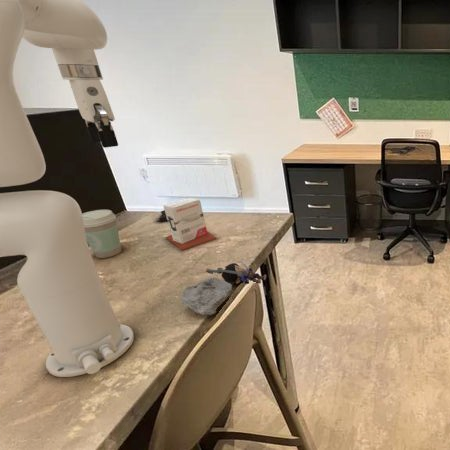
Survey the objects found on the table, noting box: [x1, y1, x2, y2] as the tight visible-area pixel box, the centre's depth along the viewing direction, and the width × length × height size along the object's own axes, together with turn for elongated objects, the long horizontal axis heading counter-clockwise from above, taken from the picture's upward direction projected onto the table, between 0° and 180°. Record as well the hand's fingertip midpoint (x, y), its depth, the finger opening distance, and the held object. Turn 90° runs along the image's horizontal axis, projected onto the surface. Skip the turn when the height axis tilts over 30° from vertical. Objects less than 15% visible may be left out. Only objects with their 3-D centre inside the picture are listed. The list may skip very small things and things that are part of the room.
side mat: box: [165, 231, 217, 251], centre depth 107 cm, size 12×10×1 cm
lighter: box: [156, 210, 168, 223], centre depth 121 cm, size 8×2×5 cm
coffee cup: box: [82, 209, 123, 259], centre depth 95 cm, size 8×8×12 cm
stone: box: [180, 276, 233, 316], centre depth 76 cm, size 9×7×10 cm
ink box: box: [163, 197, 208, 244], centre depth 104 cm, size 8×5×12 cm, turn 152°
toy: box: [205, 260, 267, 285], centre depth 85 cm, size 6×6×15 cm
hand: (105, 143), depth 90 cm, fingers open, 9 cm apart
